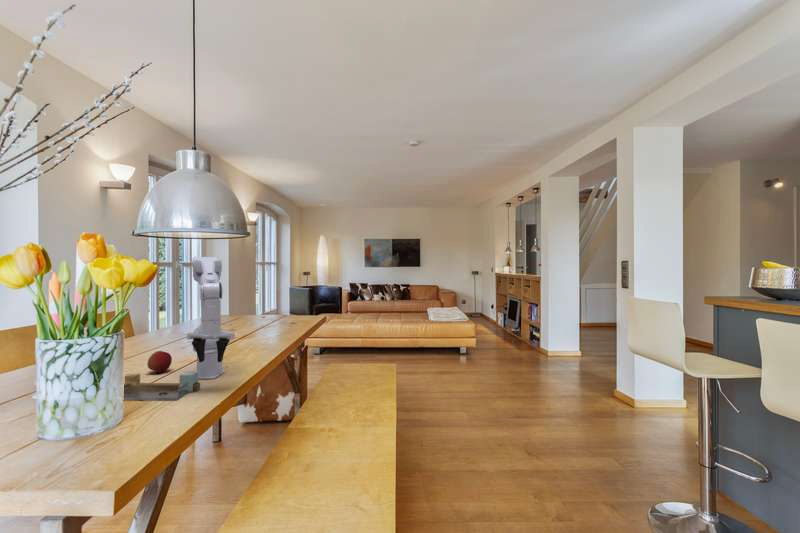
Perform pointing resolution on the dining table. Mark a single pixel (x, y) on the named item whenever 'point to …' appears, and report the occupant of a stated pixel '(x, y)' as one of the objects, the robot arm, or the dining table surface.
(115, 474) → the dining table surface
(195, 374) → the carriage
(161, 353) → the apple
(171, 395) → the flange plate
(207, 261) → the robot arm
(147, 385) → the trammel rail
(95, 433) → the dining table surface
